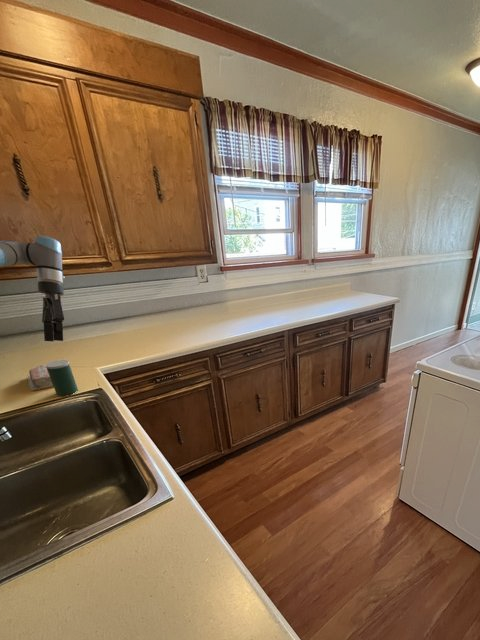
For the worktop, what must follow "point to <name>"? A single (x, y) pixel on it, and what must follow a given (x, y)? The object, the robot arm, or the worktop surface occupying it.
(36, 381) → the packaged product
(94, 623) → the worktop surface
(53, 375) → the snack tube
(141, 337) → the worktop surface
